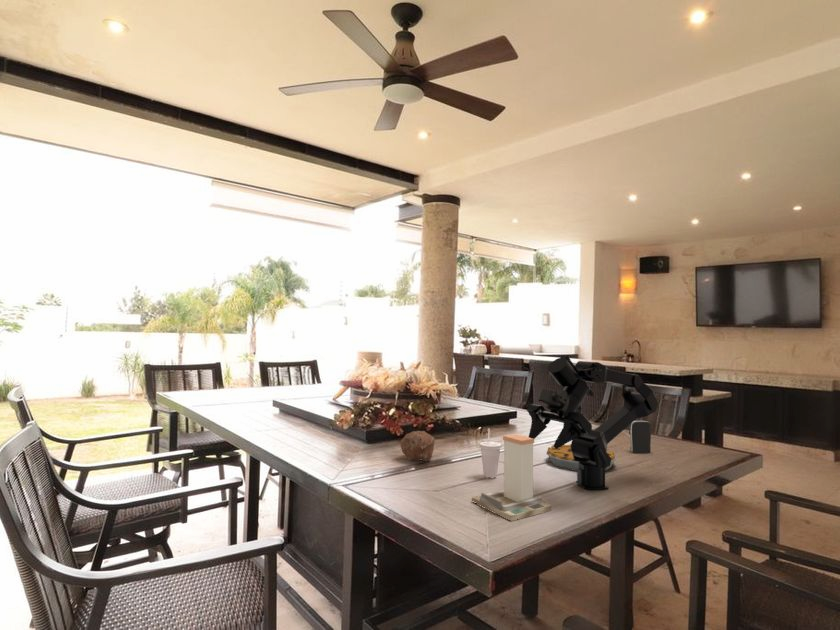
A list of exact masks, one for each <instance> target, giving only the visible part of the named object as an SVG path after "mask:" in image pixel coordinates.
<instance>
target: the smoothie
mask: <svg viewBox="0 0 840 630" xmlns="http://www.w3.org/2000/svg"><path fill="white" fill-rule="evenodd" d="M490 439H491V428H487V441H482V442H480V443H479V448H480V453H481V462H482V470H483V471H482V472H483V477H484V476H486V477H496V476H497V477H498V470H499V461H500V454H501V449H502V444H501V443H500V442H497V441H491V440H490Z"/></svg>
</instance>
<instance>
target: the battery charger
mask: <svg viewBox="0 0 840 630" xmlns="http://www.w3.org/2000/svg"><path fill="white" fill-rule="evenodd" d="M651 428H652V426H651V423H650V422H649V421H647V420H646V421H645V420H639V419H636V420H635V421H634V422H632V423H631V424H630V425H629V426H628V434H629V435H630V449H629V450H630V452H631V453H633V454H650V453H652V452H651V445H652V444H651V443H652V442H651V441H652V429H651Z"/></svg>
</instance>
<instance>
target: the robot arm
mask: <svg viewBox="0 0 840 630" xmlns="http://www.w3.org/2000/svg"><path fill="white" fill-rule="evenodd" d="M547 371H548V373H549V375H551V376H552V379H554V380H555V382H556V383H557V384H558V385H559V386H560V387H563V388H564V389H558V390H557V391H556V390H551V389H544V388H541V390H540V392H539V395H538V398H537V400H538V402H542V403H544V404H546V405H545V406H546V408H547V410H549V411H547V410H546V409H545V407H544V406H543V405H540V404H536V403H535V404H534V403H531V404H529V406H528V407H527V409H526V412H527V413H528V415H529V416H530V418H531V419H530V420H531V424H530V428H529V434H528V437H529V438H533V439H534V440H535V439H536V438H537V437H538V436H540V434H542V432H544V430H545V429H547V427H548V426H547V425H549V424H550V422H551V421H553V422H559V423H562V424H563V427H562V429H561V430H560V432H559V434H558V436H557V437H556V439H555V441H554V444H553V445H554V448H556V449H557V448H559V447H561V446H562V445H567V443H570V442H571V443H570V444H571V450H572V453H573V457H574V461H577V462H579V468H577V470H576V476H577V477H576V479H577V480H576V481H575V483H576V484H577V485H579V486H580V487H582V488H583V489H585V490H588V491H589V490H591V491H592V490H609V486H607V485H606V471H605V468H607V467H609V466H610V463H611V458H610V456H609V455H608V454H607V453H606V452H607V450H608V444H609V443H611V441H613V440H614V439H615V438H616V437H618V435H619V434H621V433H622V432H624V430H625V429H627V428H629V425H630V424H631V423H632V422H634V421H635V420H639V419H643V418H646V417H650V416H651V415H653V414H654V413H656V411H657V409H658V406H659V402H658V400H657V398H656V395H655V393H654V391H653V390H652V389H651V388H650V387H649V386H648V385H647V384H646V383H645V382H644V380H643V379H642V377H641V376H640V375H639V374H636V373H628V372H623V371H619V370H614V369H610V368H608V367H607V365H605V364H602V363H601V362H598V361H584V360H583V361H582V360H579V361H577V362H576V364H574V363H573V361H572V360H571V358H570V356H569V355H565V354H564V355H563V354H562V355H561V356H559V357H558V358H556V359H555V360H553V361H552V362H550V363H549V364H548V365H547ZM588 383H593V384H595V383H596V384H599V383H600V384H601V383H609V384H615V385H618V386H621V387H622V392H621V396H622V397H623V401H622V402H623V403H622V407H621V408H619V410H617V411H616V412H615V413H614V414H613V415H611V416H610V417H609V418H608V419H606V420H605V421H604V422H602V423H601V424H600V425H599V426H598V427H597V428H595V429H593V425H592V423H591V422H590V421H589V419H588V418H587V416H586V415H585V414H584V413H583V412H581V411H582V408H581V405H582V403H583V402H584V399H585V398H586V397H594V394H595V393H594V391H593V386H591V385H590V386H589V385H588ZM631 388H634V389H635V390H636V391H637V392H634V391H631Z"/></svg>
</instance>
